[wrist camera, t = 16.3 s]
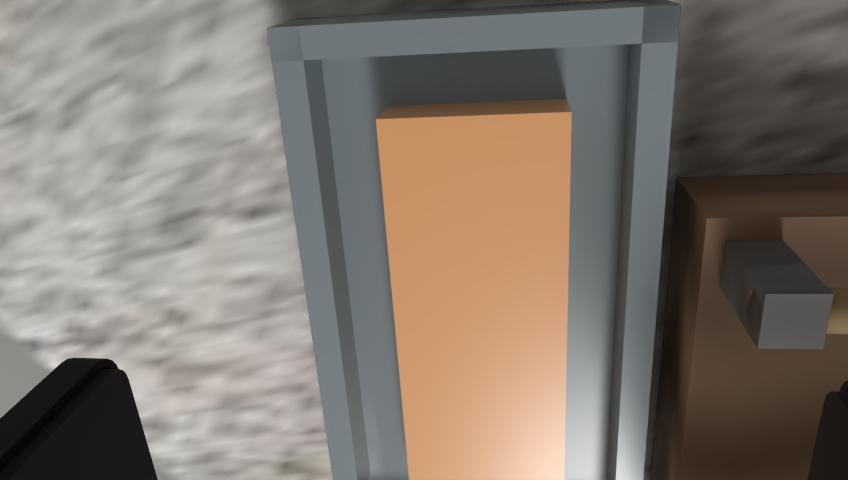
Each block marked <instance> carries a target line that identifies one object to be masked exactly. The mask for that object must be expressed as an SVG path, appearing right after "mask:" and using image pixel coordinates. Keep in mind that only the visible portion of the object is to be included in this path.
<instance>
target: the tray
mask: <svg viewBox="0 0 848 480" xmlns="http://www.w3.org/2000/svg"><path fill="white" fill-rule="evenodd" d="M680 11H681V5H680V4H677V3H674V2H671V1H667V0H618V1H600V2H583V3H566V4H548V5H531V6H514V7H496V8H479V9H461V10H444V11H427V12H409V13H392V14H375V15H357V16H340V17H323V18H305V19H295V20H291V21H288V22H285V23H281V24H278V25H275V26H272V27H268V28H267V31H268V38H269V45H270V52H271V58H272V65H273V72H274V79H275V86H276V93H277V99H278V106H279V113H280V120H281V127H282V134H283V141H284V147H285V154H286V161H287V168H288V175H289V182H290V188H291V195H292V202H293V209H294V216H295V223H296V229H297V236H298V243H299V250H300V257H301V264H302V270H303V277H304V284H305V291H306V298H307V305H308V311H309V318H310V325H311V332H312V339H313V346H314V352H315V359H316V366H317V373H318V380H319V387H320V393H321V400H322V407H323V414H324V421H325V428H326V434H327V441H328V448H329V455H330V462H331V469H332V475H333V480H409V473H408V462H407V451H406V440H405V430H404V419H403V408H402V397H401V386H400V375H399V365H398V354H397V343H396V332H395V321H394V311H393V300H392V289H391V278H390V267H389V257H388V246H387V235H386V224H385V213H384V203H383V192H382V181H381V170H380V159H379V149H378V138H377V127H376V118H377V117H378V116H379V115H380V114H381V112H382V111H383V110H384V109H385V107H386V106H399V105H424V104H449V103H474V102H499V101H524V100H549V99H567V101H568V103H569V106H570V109H571V111H572V122H571V171H570V221H569V270H568V319H567V369H566V418H565V467H564V480H643V477H644V464H645V452H646V439H647V426H648V414H649V401H650V389H651V376H652V364H653V351H654V338H655V326H656V313H657V301H658V288H659V275H660V263H661V250H662V238H663V225H664V213H665V200H666V187H667V175H668V162H669V150H670V137H671V125H672V112H673V99H674V87H675V74H676V62H677V49H678V36H679V24H680Z"/></svg>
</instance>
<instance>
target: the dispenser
mask: <svg viewBox="0 0 848 480" xmlns="http://www.w3.org/2000/svg"><path fill="white" fill-rule="evenodd" d="M845 381H848V174H804V175H761V176H717V177H677V181H676V193H675V205H674V216H673V228H672V240H671V252H670V263H669V275H668V287H667V299H666V310H665V322H664V334H663V346H662V357H661V369H660V381H659V393H658V404H657V416H656V428H655V439H654V451H653V463H652V475H651V480H807V479H808V475H809V470H810V465H811V461H812V456H813V451H814V446H815V442H816V437H817V432H818V427H819V423H820V418H821V413H822V408H823V404H824V400H825V397H826V395H827V394H828V393H829V392H832V391H835V392H839V391H840V388H841V386H842V385H843V383H844V382H845Z"/></svg>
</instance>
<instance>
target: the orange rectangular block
mask: <svg viewBox="0 0 848 480" xmlns="http://www.w3.org/2000/svg"><path fill="white" fill-rule="evenodd" d="M571 122H572V111H571V109H570V106H569V103H568V101H567V99H549V100H524V101H499V102H474V103H449V104H424V105H399V106H386V107H385V109H384V110H383V111H382V112H381V114H380V115H379V116H378V117H377V118H376V127H377V138H378V149H379V159H380V170H381V181H382V192H383V203H384V213H385V224H386V235H387V246H388V257H389V267H390V278H391V289H392V300H393V311H394V321H395V332H396V343H397V354H398V365H399V375H400V386H401V397H402V408H403V419H404V430H405V440H406V451H407V462H408V473H409V480H564V467H565V418H566V369H567V319H568V270H569V221H570V171H571Z"/></svg>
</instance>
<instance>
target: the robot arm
mask: <svg viewBox="0 0 848 480" xmlns="http://www.w3.org/2000/svg"><path fill="white" fill-rule="evenodd" d="M0 480H157V476H156V473H155V469H154V466H153V462H152V459H151V455H150V452H149V448H148V445H147V441H146V438H145V435H144V431H143V428H142V424H141V421H140V417H139V414H138V410H137V407H136V404H135V400H134V397H133V393H132V390H131V386H130V383H129V379H128V377H127V375H126V373H125V372H124V371H123V370H120V369H118V367H117V365H116V364H115V363H114V362H113V361H112V360H109V359H94V358H71V359H67V360H65V361H64V362H62V363H61V364H60V365H59V366H58V367H57V368H55V369H54V370H53V371H52V372H51V373H50V374H49V375H48V376H47V377H46V378H44V379H43V380H42V381H41V382H40V383H39V384H38V385H37V386H36V387H35V388H33V389H32V390H31V391H30V392H29V393H28V394H27V395H26V396H25V397H24V398H22V399H21V400H20V401H19V402H18V403H17V404H16V405H15V406H14V407H12V408H11V409H10V410H9V411H8V412H7V413H6V414H5V415H4V416H3V417H1V418H0ZM807 480H848V381H845V382H844V383H843V385H842V386H841V388H840V391H839V392H835V391H832V392H829V393H828V394H827V395H826V397H825V400H824V404H823V408H822V413H821V418H820V423H819V427H818V432H817V437H816V442H815V446H814V451H813V456H812V461H811V465H810V470H809V475H808V479H807Z"/></svg>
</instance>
